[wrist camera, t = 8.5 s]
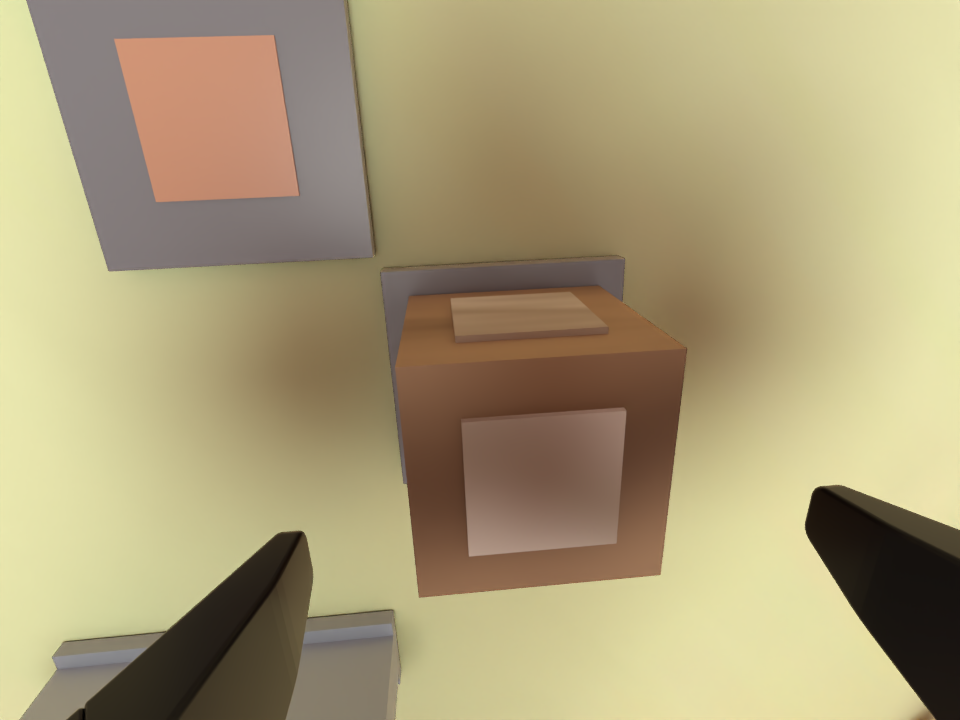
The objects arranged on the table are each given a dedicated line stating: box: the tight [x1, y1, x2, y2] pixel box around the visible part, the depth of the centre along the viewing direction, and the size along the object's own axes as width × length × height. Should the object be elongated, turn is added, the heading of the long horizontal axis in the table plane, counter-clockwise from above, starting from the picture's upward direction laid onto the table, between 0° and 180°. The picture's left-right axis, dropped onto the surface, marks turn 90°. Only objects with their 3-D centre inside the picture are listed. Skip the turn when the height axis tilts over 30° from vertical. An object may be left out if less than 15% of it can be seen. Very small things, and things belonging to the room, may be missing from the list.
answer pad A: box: [380, 256, 625, 484], centre depth 16 cm, size 7×7×1 cm
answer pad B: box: [26, 0, 375, 271], centre depth 13 cm, size 7×7×1 cm
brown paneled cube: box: [395, 286, 687, 598], centre depth 13 cm, size 6×6×6 cm
